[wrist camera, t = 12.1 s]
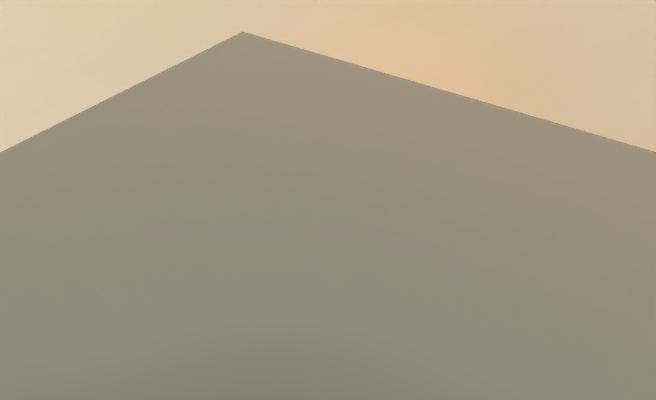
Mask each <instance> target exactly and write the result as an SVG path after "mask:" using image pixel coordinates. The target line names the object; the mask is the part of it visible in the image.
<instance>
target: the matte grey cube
mask: <svg viewBox="0 0 656 400" xmlns="http://www.w3.org/2000/svg"><path fill="white" fill-rule="evenodd" d="M0 400H656V152H653V151H650V150H646V149H643V148H640V147H636V146H633V145H629V144H626V143H622V142H619V141H616V140H612V139H609V138H605V137H602V136H598V135H595V134H592V133H588V132H585V131H581V130H578V129H574V128H571V127H567V126H564V125H561V124H557V123H554V122H550V121H547V120H543V119H540V118H537V117H533V116H530V115H526V114H523V113H519V112H516V111H513V110H509V109H506V108H502V107H499V106H495V105H492V104H489V103H485V102H482V101H478V100H475V99H471V98H468V97H465V96H461V95H458V94H454V93H451V92H447V91H444V90H441V89H437V88H434V87H430V86H427V85H423V84H420V83H417V82H413V81H410V80H406V79H403V78H399V77H396V76H393V75H389V74H386V73H382V72H379V71H375V70H372V69H369V68H365V67H362V66H358V65H355V64H351V63H348V62H345V61H341V60H338V59H334V58H331V57H327V56H324V55H321V54H317V53H314V52H310V51H307V50H303V49H300V48H297V47H293V46H290V45H286V44H283V43H279V42H276V41H273V40H269V39H266V38H262V37H259V36H255V35H252V34H249V33H245V32H241V33H239V34H237V35H235V36H233V37H231V38H229V39H227V40H225V41H223V42H221V43H219V44H217V45H215V46H213V47H211V48H209V49H207V50H205V51H203V52H201V53H199V54H197V55H195V56H193V57H191V58H189V59H187V60H185V61H183V62H181V63H179V64H177V65H175V66H173V67H171V68H169V69H167V70H165V71H163V72H161V73H159V74H157V75H155V76H153V77H151V78H149V79H147V80H145V81H143V82H141V83H139V84H137V85H135V86H133V87H131V88H129V89H127V90H125V91H123V92H121V93H119V94H117V95H115V96H113V97H111V98H109V99H107V100H105V101H103V102H101V103H99V104H97V105H95V106H93V107H91V108H89V109H87V110H85V111H83V112H81V113H79V114H77V115H75V116H73V117H71V118H69V119H67V120H65V121H63V122H61V123H59V124H57V125H55V126H53V127H51V128H49V129H47V130H45V131H43V132H41V133H39V134H37V135H35V136H33V137H31V138H29V139H27V140H25V141H23V142H21V143H19V144H17V145H15V146H13V147H11V148H9V149H7V150H5V151H3V152H1V153H0Z"/></svg>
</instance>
